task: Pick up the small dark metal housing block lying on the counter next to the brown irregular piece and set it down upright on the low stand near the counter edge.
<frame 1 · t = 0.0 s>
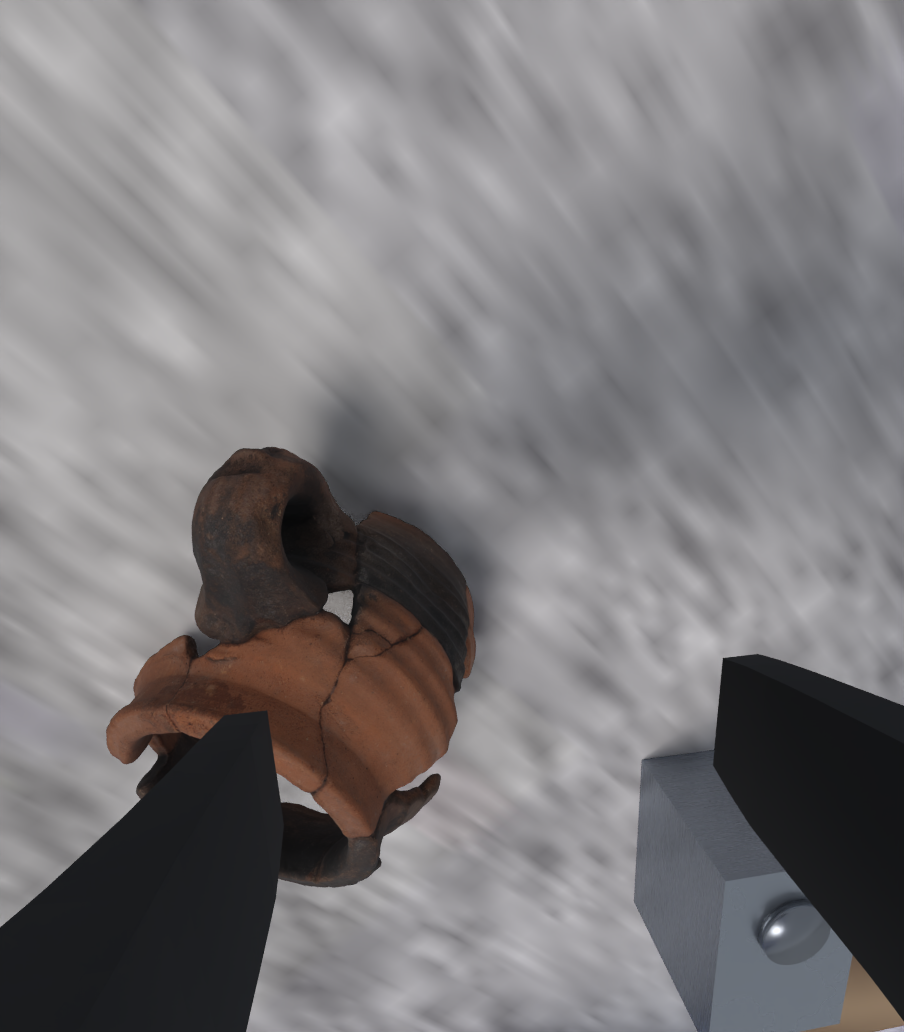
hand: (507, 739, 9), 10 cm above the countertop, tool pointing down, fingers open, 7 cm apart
housing: (692, 823, 23), on the countertop
brown irregular piece: (320, 606, 19), on the countertop
stand: (847, 926, 26), on the countertop
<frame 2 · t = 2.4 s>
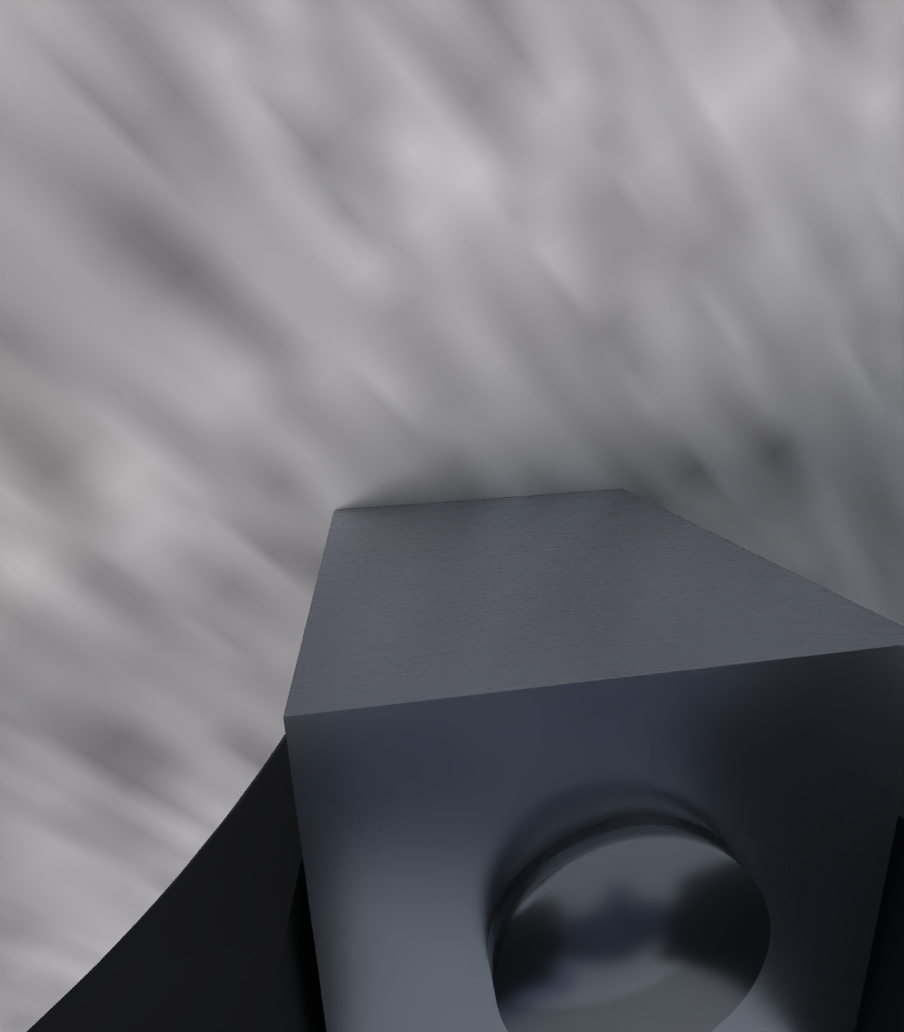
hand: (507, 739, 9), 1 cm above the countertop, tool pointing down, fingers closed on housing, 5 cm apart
housing: (488, 688, 10), on the countertop, touching gripper
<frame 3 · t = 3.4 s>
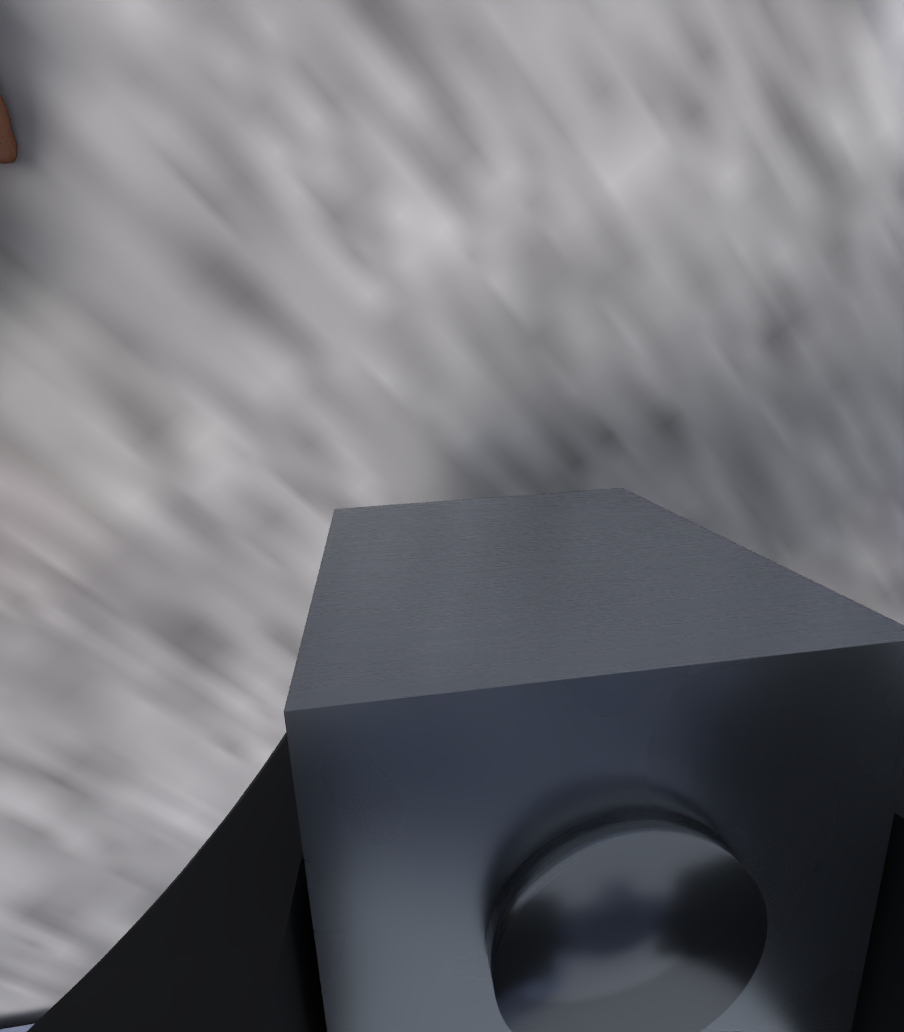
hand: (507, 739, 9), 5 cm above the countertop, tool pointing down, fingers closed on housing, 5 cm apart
housing: (488, 687, 10), point 4 cm above the countertop, touching gripper
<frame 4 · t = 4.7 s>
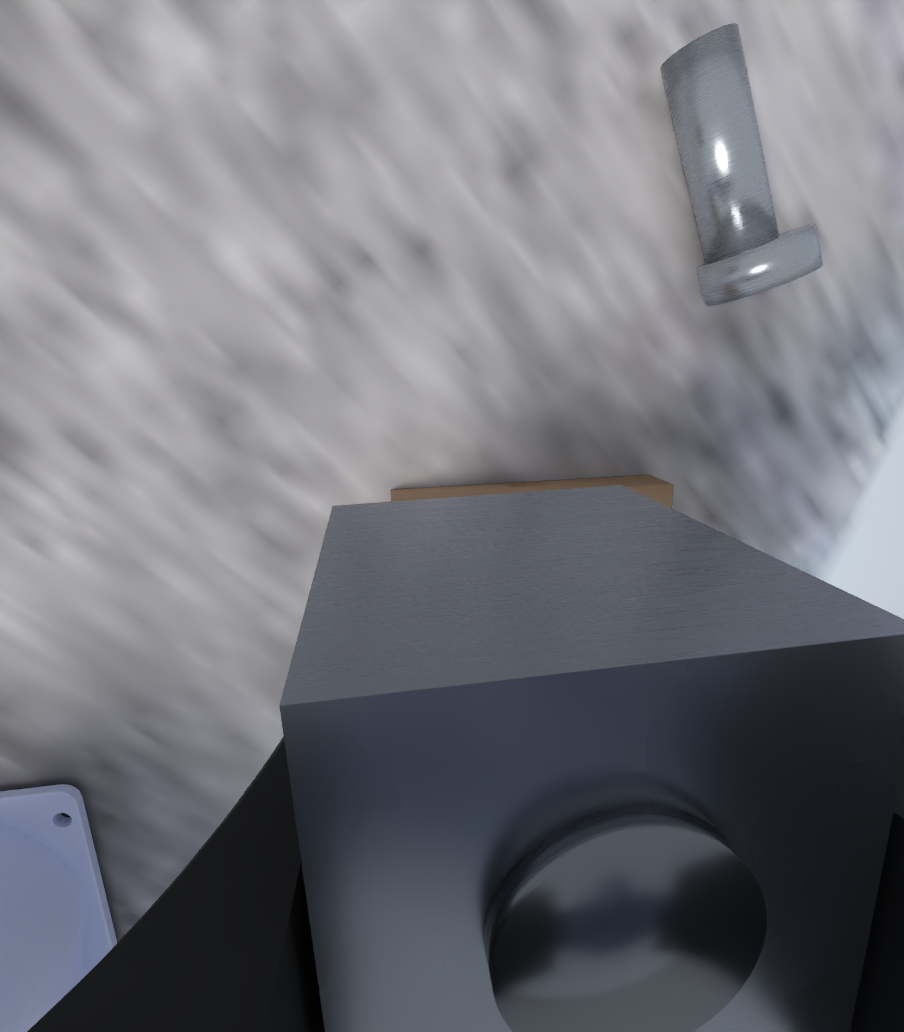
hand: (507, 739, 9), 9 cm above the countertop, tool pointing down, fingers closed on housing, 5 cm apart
housing: (487, 684, 10), point 7 cm above the countertop, touching gripper
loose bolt: (701, 168, 16), on the countertop
stand: (523, 618, 18), on the countertop
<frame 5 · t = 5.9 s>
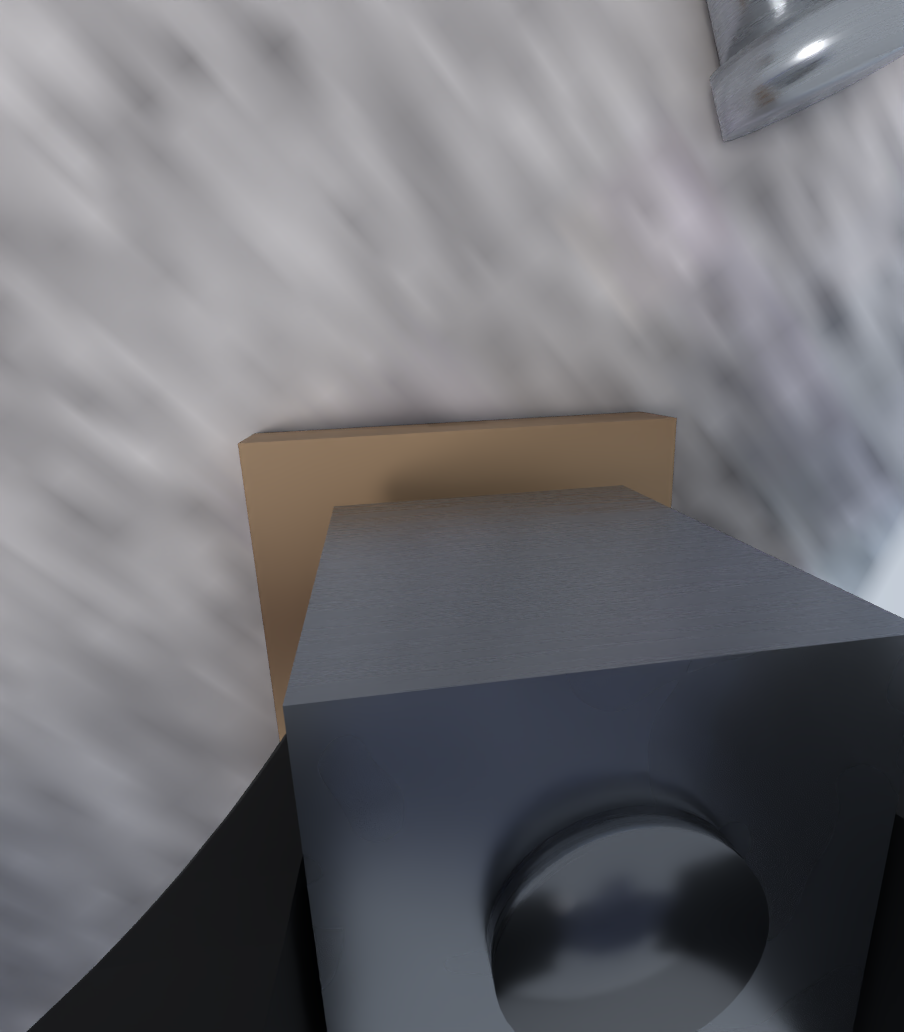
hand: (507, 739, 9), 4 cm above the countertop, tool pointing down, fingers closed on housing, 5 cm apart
housing: (488, 684, 10), point 3 cm above the countertop, touching gripper
stand: (463, 622, 13), on the countertop
when the fingers open (4 cm above the countertop, at t = 7.0 s): housing drops 1 cm, resting on stand.
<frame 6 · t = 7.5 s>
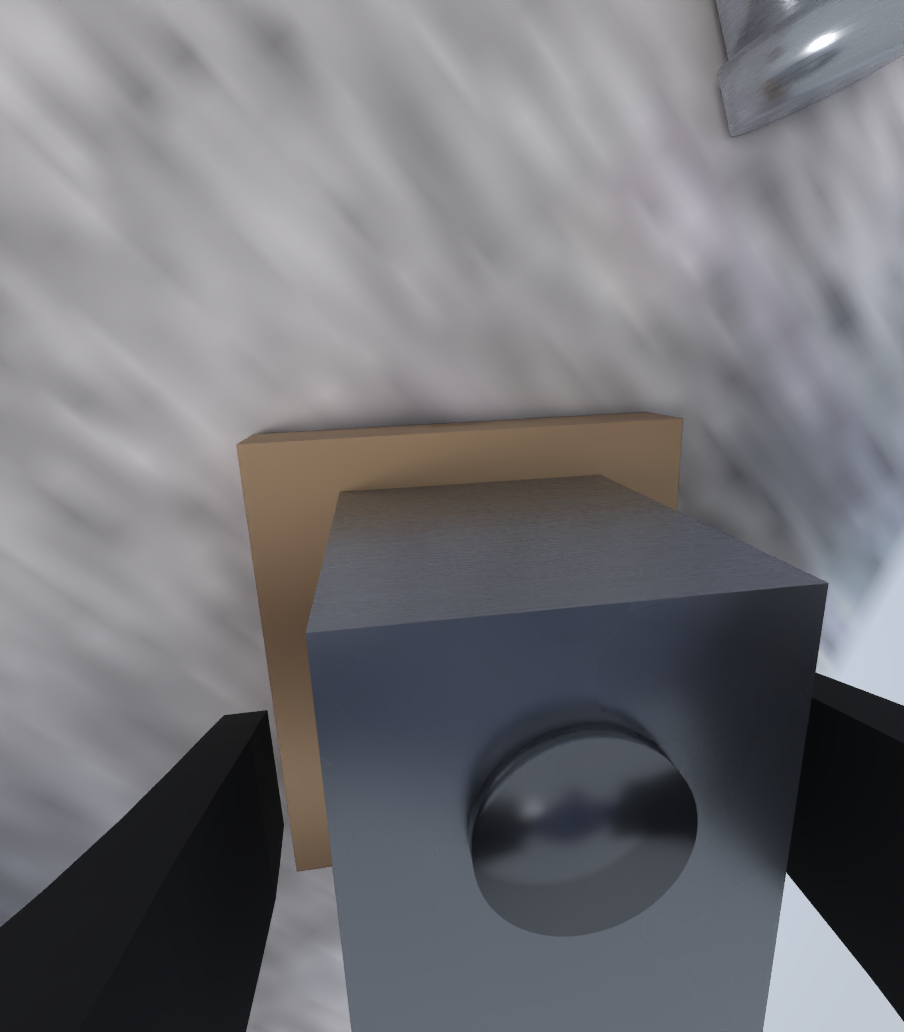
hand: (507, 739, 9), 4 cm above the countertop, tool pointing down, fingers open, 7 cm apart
housing: (478, 656, 11), point 1 cm above the countertop, touching stand
stand: (465, 625, 13), on the countertop
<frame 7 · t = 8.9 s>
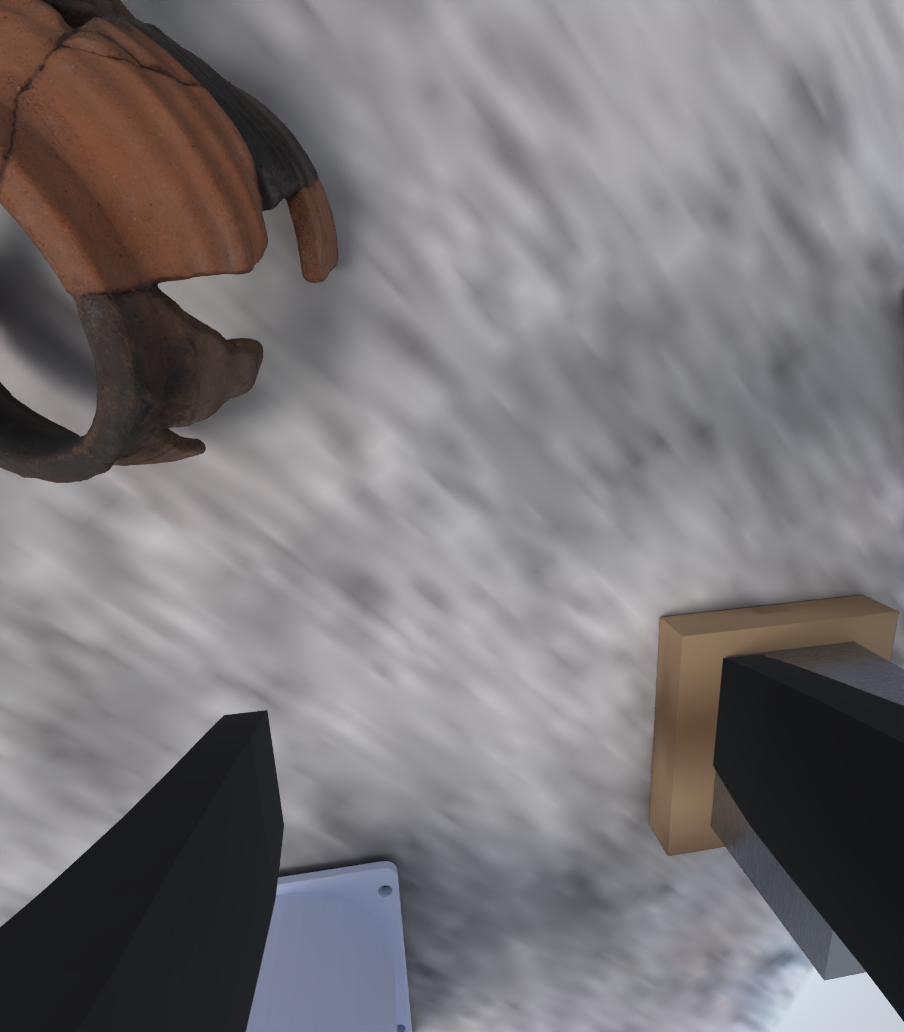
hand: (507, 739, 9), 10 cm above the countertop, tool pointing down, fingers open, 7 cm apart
housing: (780, 736, 20), point 1 cm above the countertop, touching stand
brown irregular piece: (142, 224, 15), on the countertop
stand: (752, 713, 22), on the countertop
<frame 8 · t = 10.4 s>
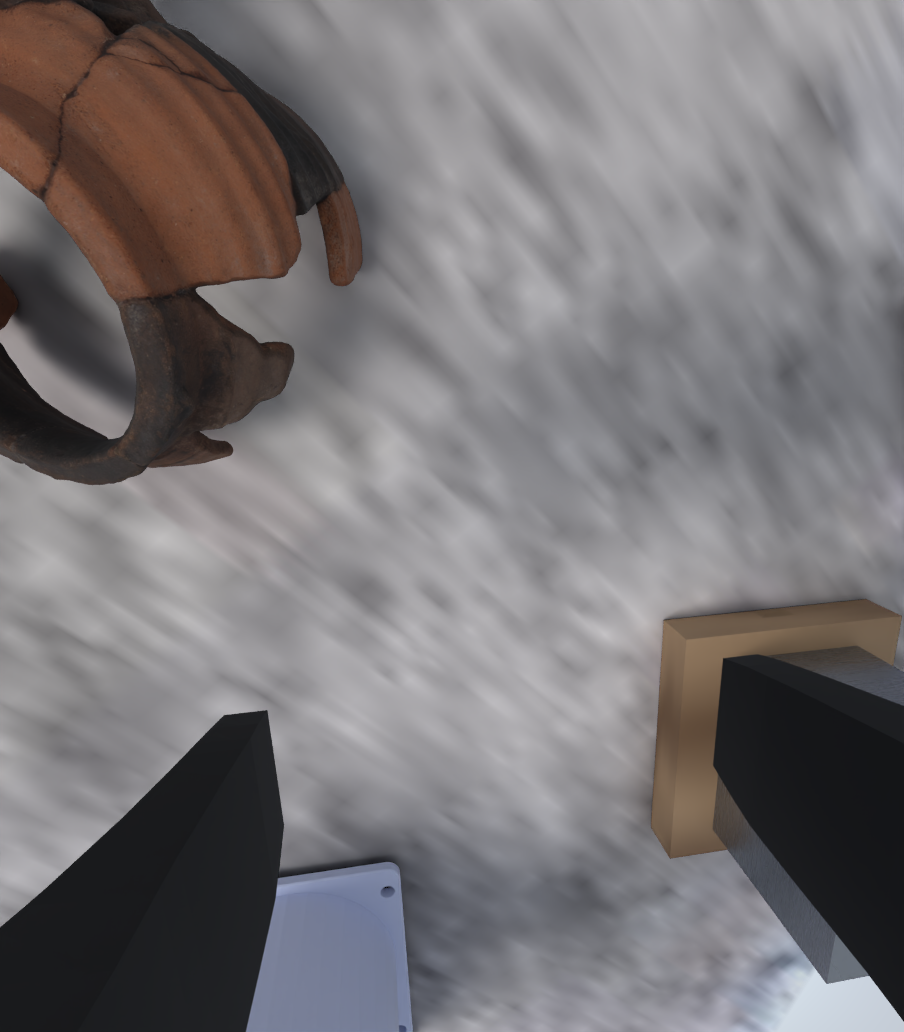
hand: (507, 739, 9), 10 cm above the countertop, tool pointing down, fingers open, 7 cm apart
housing: (782, 740, 20), point 1 cm above the countertop, touching stand
brown irregular piece: (169, 227, 15), on the countertop
stand: (755, 716, 22), on the countertop
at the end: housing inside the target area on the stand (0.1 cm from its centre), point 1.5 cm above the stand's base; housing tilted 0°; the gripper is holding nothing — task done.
